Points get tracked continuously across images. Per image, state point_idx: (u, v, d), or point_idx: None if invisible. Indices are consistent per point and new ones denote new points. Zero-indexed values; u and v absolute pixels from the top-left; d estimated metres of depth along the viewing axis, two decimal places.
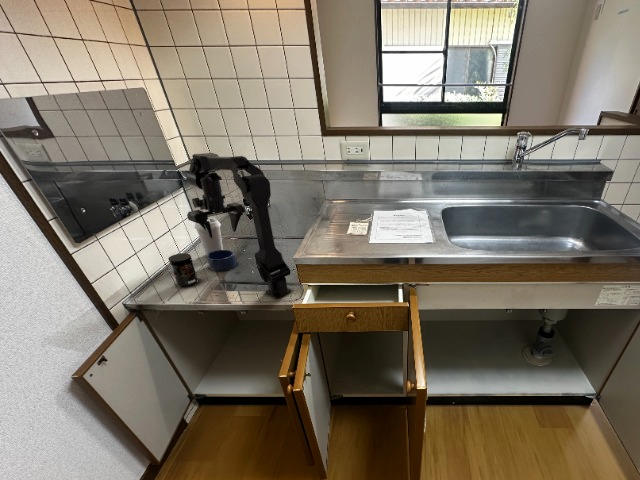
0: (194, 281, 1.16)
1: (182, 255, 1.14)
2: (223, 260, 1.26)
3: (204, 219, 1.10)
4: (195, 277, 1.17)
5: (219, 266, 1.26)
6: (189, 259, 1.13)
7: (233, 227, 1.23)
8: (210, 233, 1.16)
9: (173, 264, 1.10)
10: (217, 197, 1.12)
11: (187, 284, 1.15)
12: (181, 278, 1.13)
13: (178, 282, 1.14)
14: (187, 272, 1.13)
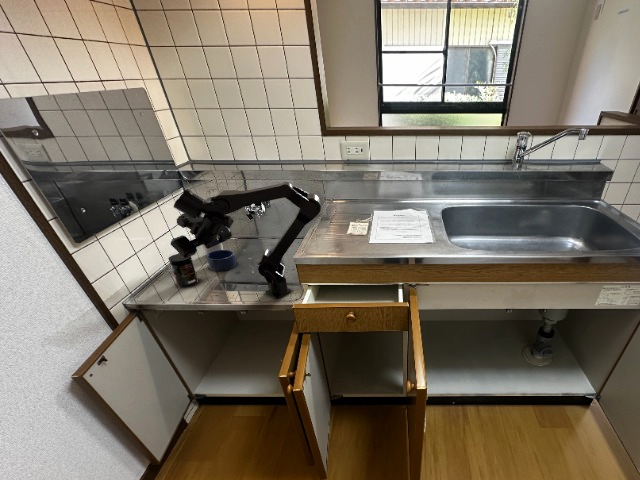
0: (194, 281, 1.16)
1: None
2: (223, 260, 1.26)
3: (192, 253, 1.00)
4: (195, 277, 1.17)
5: (219, 266, 1.26)
6: (189, 259, 1.13)
7: (208, 245, 1.12)
8: None
9: (173, 264, 1.10)
10: (215, 235, 1.02)
11: (187, 284, 1.15)
12: (181, 278, 1.13)
13: (178, 282, 1.14)
14: (187, 272, 1.13)
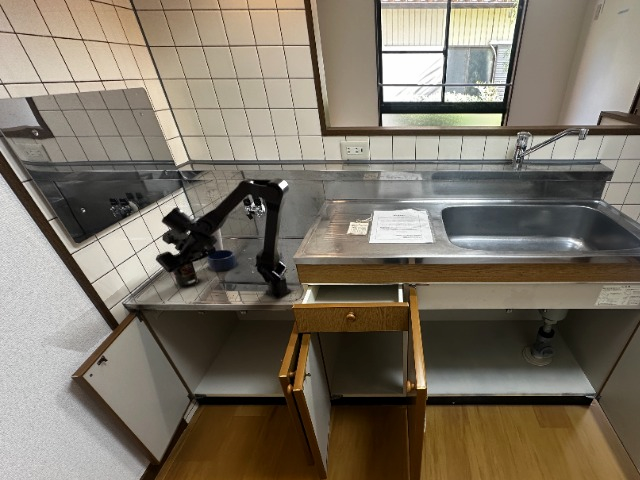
0: (194, 281, 1.16)
1: None
2: (223, 260, 1.26)
3: (177, 269, 1.05)
4: (195, 277, 1.17)
5: (219, 266, 1.26)
6: None
7: None
8: None
9: None
10: (199, 251, 1.07)
11: (187, 284, 1.15)
12: (181, 278, 1.13)
13: (178, 282, 1.14)
14: (187, 272, 1.13)
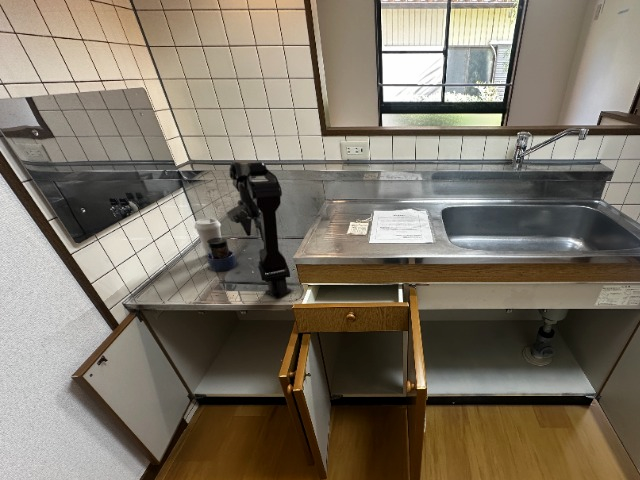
0: None
1: (218, 239, 1.27)
2: (223, 260, 1.26)
3: None
4: None
5: (219, 266, 1.26)
6: (225, 242, 1.26)
7: (249, 231, 1.25)
8: None
9: (211, 246, 1.23)
10: None
11: None
12: None
13: None
14: (223, 254, 1.26)
